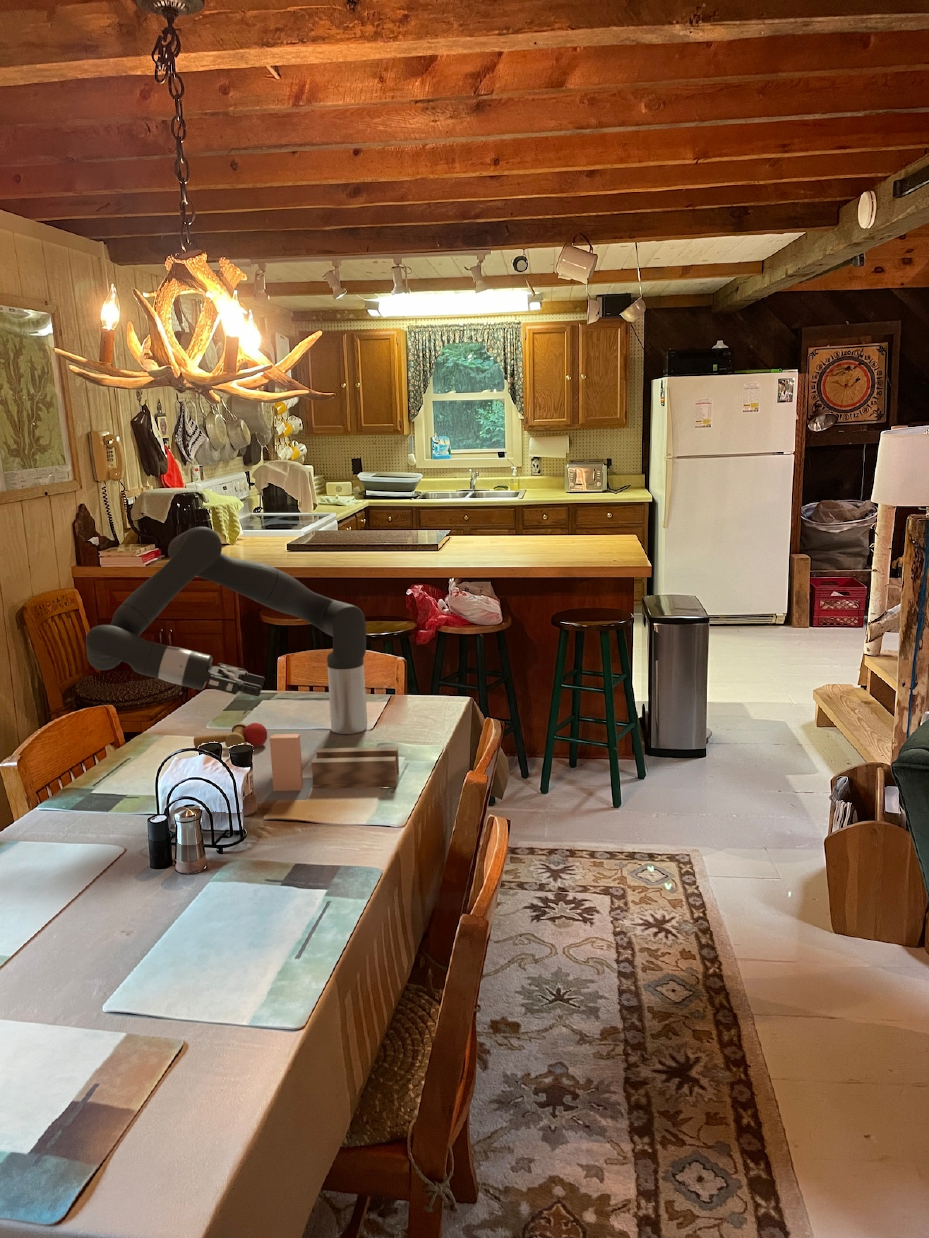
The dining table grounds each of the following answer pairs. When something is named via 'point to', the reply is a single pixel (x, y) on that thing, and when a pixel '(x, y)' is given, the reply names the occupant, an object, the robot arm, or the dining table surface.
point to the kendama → (237, 736)
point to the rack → (355, 767)
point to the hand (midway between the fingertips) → (262, 686)
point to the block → (286, 762)
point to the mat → (288, 792)
